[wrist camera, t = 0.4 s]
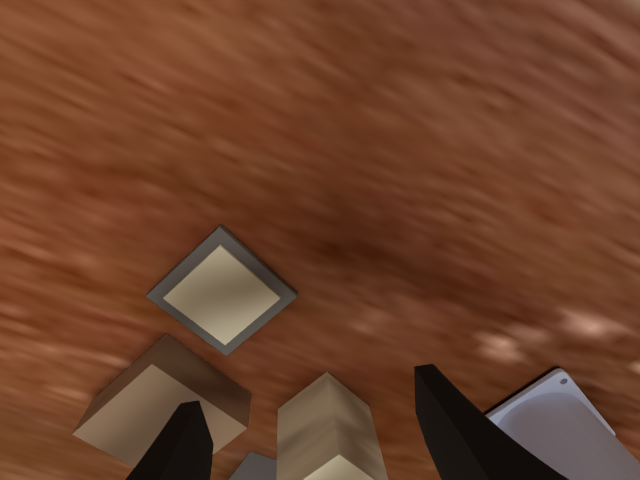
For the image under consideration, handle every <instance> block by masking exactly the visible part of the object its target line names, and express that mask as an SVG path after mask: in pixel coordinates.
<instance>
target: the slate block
mask: <svg viewBox="0 0 640 480" xmlns="http://www.w3.org/2000/svg"><path fill="white" fill-rule="evenodd" d="M276 476H277V461H276V460H274V459H271V458H268V457H265V456H262V455H260V454H257V453H254V452H250V453H249V454H248V456H247V457H246V458H245V460H244V461H243V462H242V463H241V465H240V466H239V467H238V468H237V470H236V471H235V472H234V474H233V475H232V476H231V477H230V479H229V480H276Z"/></svg>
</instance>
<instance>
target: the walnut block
mask: <svg viewBox="0 0 640 480" xmlns="http://www.w3.org/2000/svg"><path fill="white" fill-rule="evenodd" d="M198 400H199V401H200V404H201V407H202V410H203V413H204V416H205V419H206V422H207V425H208V428H209V431H210V434H211V437H212V440H213V443H214V446H213V454H215V453H216V452H217V451H218V450H220V449H221V448H222V447H224V446H225V445H226V444H228V443H229V442H230V441H231V440H233V439H234V438H235V437H237V436H238V435H239V434H241V433H242V432H243V431H244V430H246V429H247V428H248V420H249V411H250V401H251V393H249V392H248V391H246V390H245V389H244V388H242V387H241V386H239V385H238V384H237V383H235V382H234V381H232V380H231V379H230V378H228V377H227V376H225V375H224V374H223V373H221V372H220V371H218V370H217V369H216V368H214V367H213V366H211V365H210V364H209V363H207V362H206V361H204V360H203V359H202V358H200V357H199V356H197V355H196V354H195V353H193V352H192V351H190V350H189V349H188V348H186V347H185V346H183V345H182V344H181V343H179V342H178V341H176V340H175V339H174V338H172V337H171V336H169V335H168V334H167V333H166V334H165V335H164V336H163V337H162V338H160V339H159V340H158V341H157V342H156V343H155V344H154V345H153V346H152V347H150V348H149V349H148V350H147V351H146V352H145V353H144V354H143V355H141V356H140V357H139V358H138V359H137V360H136V361H135V362H134V363H133V364H131V365H130V366H129V367H128V368H127V369H126V370H125V371H124V372H122V373H121V374H120V375H119V376H118V377H117V378H116V379H115V380H114V381H112V382H111V383H110V384H109V385H108V386H107V387H106V388H105V389H104V390H102V391H101V392H100V393H99V394H98V395H97V396H96V397H95V398H94V399H93V400H92V402H91V404H90V405H89V407H88V409H87V410H86V412H85V414H84V415H83V417H82V419H81V420H80V422H79V424H78V425H77V427H76V429H75V430H74V432H73V435H74V436H76V437H78V438H80V439H82V440H84V441H86V442H87V443H89V444H91V445H93V446H95V447H97V448H98V449H100V450H102V451H104V452H106V453H108V454H109V455H111V456H113V457H115V458H117V459H119V460H121V461H122V462H124V463H126V464H128V465H130V466H132V467H133V468H135V467H136V465H137V464H138V462H139V461H140V460H141V458H142V457H143V456H144V454H145V453H146V451H147V450H148V449H149V447H150V446H151V445H152V443H153V442H154V440H155V439H156V438H157V436H158V435H159V433H160V432H161V430H162V429H163V427H164V426H165V425H166V423H167V422H168V420H169V419H170V417H171V416H172V414H173V413H174V412H175V410H176V409H177V407H178V406H179V405H180V403H185V402H192V401H198Z"/></svg>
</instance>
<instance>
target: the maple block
mask: <svg viewBox="0 0 640 480" xmlns="http://www.w3.org/2000/svg"><path fill="white" fill-rule="evenodd" d="M276 480H388V477H387V473H386V469H385V465H384V461H383V458H382V454H381V450H380V446H379V442H378V439H377V435H376V431H375V427H374V423H373V420H372V416H371V412H370V408H369V406H368V405H367V404H366V403H364V402H363V401H362V400H361V399H359V398H358V397H357V396H356V395H355V394H353V393H352V392H351V391H350V390H348V389H347V388H346V387H345V386H344V385H342V384H341V383H340V382H339V381H338V380H336V379H335V378H334V377H333V376H331V375H330V374H329V373H328V372H326V373H324V374H323V375H322V376H320V377H319V378H318V379H317V380H315V381H314V382H313V383H311V384H310V385H309V386H307V387H306V388H305V389H303V390H302V391H301V392H300V393H298V394H297V395H296V396H294V397H293V398H292V399H290V400H289V401H288V402H286V403H285V404H284V405H283V406H281V407H280V408H279V409H278V423H277V476H276Z"/></svg>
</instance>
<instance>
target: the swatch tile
mask: <svg viewBox="0 0 640 480" xmlns="http://www.w3.org/2000/svg"><path fill="white" fill-rule="evenodd" d="M146 297H147V298H148V299H150V300H151V301H152V302H154V303H155V304H156V305H158V306H159V307H160V308H162V309H163V310H164V311H166V312H167V313H169V314H170V315H171V316H173V317H174V318H175V319H177V320H178V321H179V322H181V323H182V324H183V325H185V326H186V327H187V328H189V329H190V330H191V331H193V332H194V333H196V334H197V335H198V336H200V337H201V338H202V339H204V340H205V341H206V342H208V343H209V344H210V345H212V346H213V347H214V348H216V349H217V350H219V351H220V352H221V353H223V354H224V355H225V356H227V355H228V354H230V353H231V352H232V351H233V350H234V349H236V348H237V347H238V346H239V345H240V344H242V343H243V342H244V341H245V340H246V339H248V338H249V337H250V336H251V335H252V334H254V333H255V332H256V331H257V330H258V329H260V328H261V327H262V326H263V325H264V324H266V323H267V322H268V321H269V320H270V319H272V318H273V317H274V316H275V315H276V314H278V313H279V312H280V311H281V310H282V309H283V308H285V307H286V306H287V305H288V304H289V303H291V302H292V301H293V300H294V299H295V298H297V297H298V293H297V292H296V291H295V290H294V289H292V288H291V287H290V286H289V285H288V284H287V283H286V282H285V281H283V280H282V279H281V278H280V277H279V276H278V275H277V274H276V273H275V272H273V271H272V270H271V269H270V268H269V267H268V266H267V265H266V264H264V263H263V262H262V261H261V260H260V259H259V258H258V257H257V256H256V255H254V254H253V253H252V252H251V251H250V250H249V249H248V248H247V247H246V246H244V245H243V244H242V243H241V242H240V241H239V240H238V239H237V238H235V237H234V236H233V235H232V234H231V233H230V232H229V231H228V230H227V229H225V228H224V227H223V226H222V225H221V224H220V225H219V226H218V227H217V228H216V229H215V230H214V231H213V232H212V233H211V234H210V235H209V236H208V237H207V238H206V239H205V240H204V241H202V242H201V243H200V244H199V245H198V246H197V247H196V248H195V249H194V250H193V251H192V252H191V253H190V254H189V255H188V256H187V257H185V258H184V259H183V260H182V261H181V262H180V263H179V264H178V265H177V266H176V267H175V268H174V269H173V270H172V271H171V272H170V273H168V274H167V275H166V276H165V277H164V278H163V279H162V280H161V281H160V282H159V283H158V284H157V285H156V286H155V287H154V288H153V289H151V290H150V291H149V292H148V294H147V295H146Z"/></svg>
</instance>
